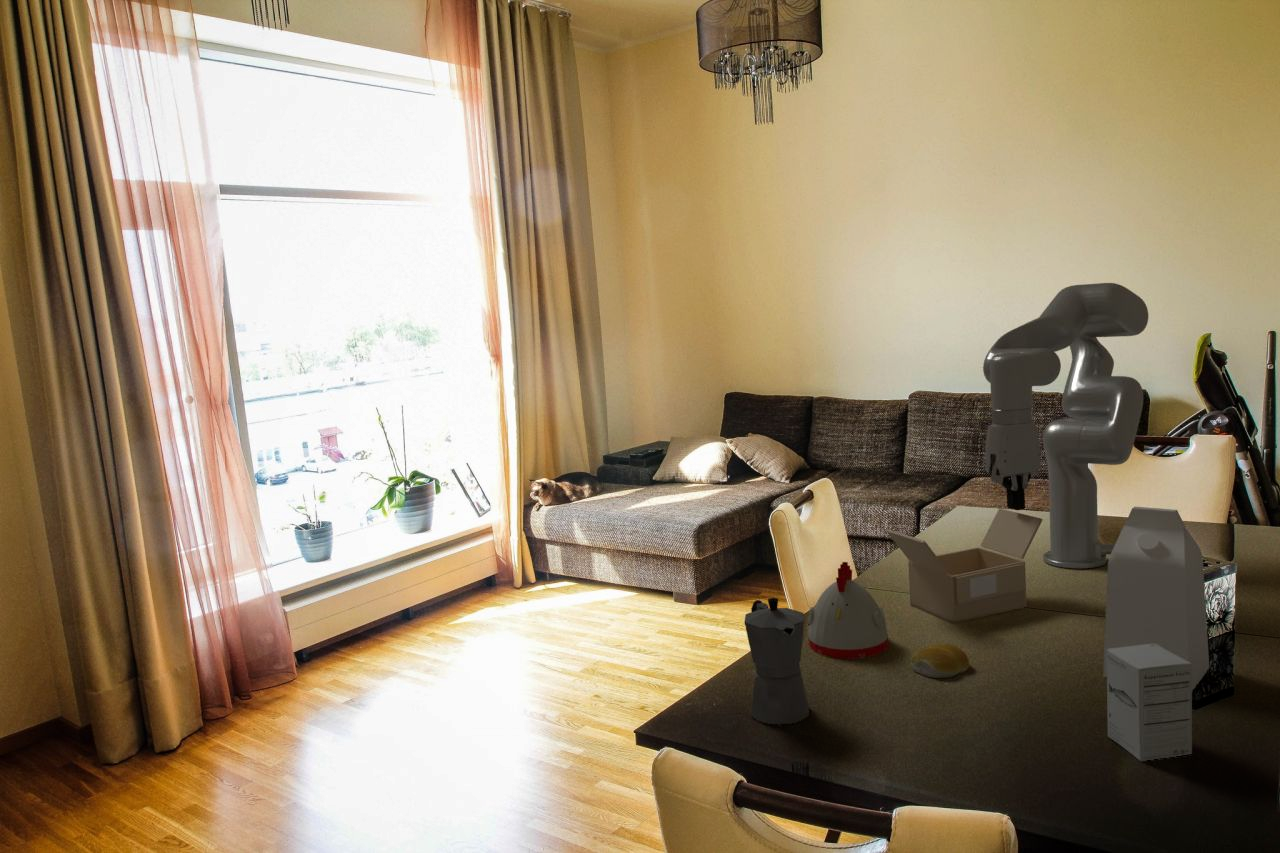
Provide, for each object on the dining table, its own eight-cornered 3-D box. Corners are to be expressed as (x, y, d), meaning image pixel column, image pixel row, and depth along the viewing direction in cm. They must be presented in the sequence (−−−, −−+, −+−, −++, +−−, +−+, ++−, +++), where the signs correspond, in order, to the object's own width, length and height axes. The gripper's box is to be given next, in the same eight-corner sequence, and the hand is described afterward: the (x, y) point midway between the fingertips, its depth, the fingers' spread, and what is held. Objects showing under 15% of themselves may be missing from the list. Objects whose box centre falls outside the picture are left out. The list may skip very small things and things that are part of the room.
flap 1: (911, 559, 183) (887, 528, 181) (949, 572, 173) (924, 540, 170) (909, 561, 183) (885, 530, 180) (947, 574, 172) (922, 542, 170)
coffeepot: (827, 725, 136) (820, 606, 134) (766, 736, 134) (758, 615, 132) (787, 685, 151) (780, 578, 149) (732, 695, 149) (724, 586, 147)
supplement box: (1105, 737, 126) (1104, 647, 125) (1158, 731, 127) (1156, 641, 125) (1139, 763, 119) (1137, 668, 117) (1194, 756, 119) (1193, 661, 118)
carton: (977, 589, 191) (976, 546, 190) (1029, 608, 178) (1027, 562, 177) (908, 604, 186) (906, 560, 184) (956, 625, 172) (954, 577, 171)
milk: (1209, 668, 145) (1208, 504, 142) (1190, 693, 137) (1189, 520, 134) (1125, 653, 153) (1123, 498, 150) (1103, 676, 145) (1100, 513, 142)
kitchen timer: (799, 654, 164) (794, 572, 162) (819, 628, 176) (815, 551, 175) (879, 662, 158) (875, 576, 156) (894, 634, 170) (891, 554, 169)
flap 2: (981, 546, 189) (1000, 509, 190) (1023, 559, 178) (1042, 519, 179) (980, 545, 189) (999, 508, 190) (1021, 558, 178) (1041, 518, 179)
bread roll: (978, 668, 153) (977, 645, 152) (942, 684, 148) (941, 659, 147) (937, 655, 159) (936, 632, 159) (901, 669, 155) (900, 646, 154)
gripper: (1028, 410, 188) (1032, 499, 190) (968, 420, 183) (972, 511, 185) (1057, 413, 181) (1060, 505, 183) (995, 423, 176) (999, 518, 178)
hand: (1016, 508), depth 184 cm, fingers closed
